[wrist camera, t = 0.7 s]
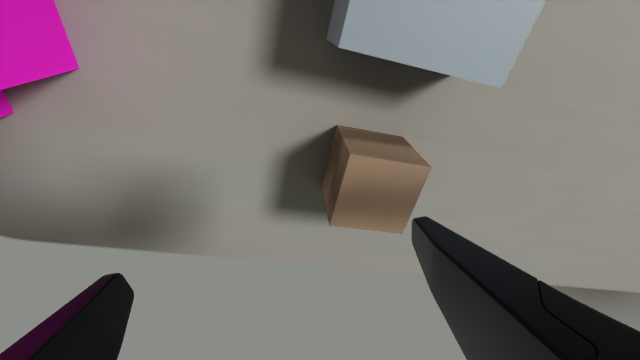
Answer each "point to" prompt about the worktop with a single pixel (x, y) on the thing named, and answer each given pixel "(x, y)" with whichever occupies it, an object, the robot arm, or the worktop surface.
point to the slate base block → (438, 33)
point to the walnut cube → (372, 180)
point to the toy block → (31, 45)
